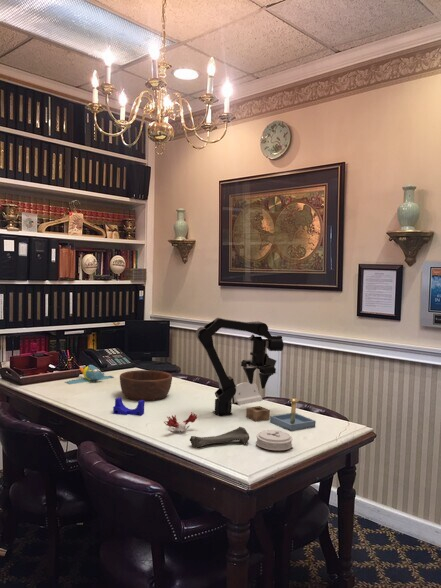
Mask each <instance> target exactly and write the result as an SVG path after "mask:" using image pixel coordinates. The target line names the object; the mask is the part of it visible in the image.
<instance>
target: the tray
mask: <svg viewBox="0 0 441 588" xmlns="http://www.w3.org/2000/svg"><path fill="white" fill-rule="evenodd" d="M290 420H291V412H288V413H282V414H274V415H270V418H269V423H271V424H274V425H276V426H277V427H278V426H279V428H282V429H285V430H286V431H289V432H294V431H295V432H296V431H300V430H306V429H312V428H316V423H317V422H316V420H315V419H311V418H310V417H307V416H305V415H302V414H299V413H297V412H296V413H295V424H292V423H290Z"/></svg>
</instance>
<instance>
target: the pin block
mask: <svg viewBox="0 0 441 588" xmlns="http://www.w3.org/2000/svg"><path fill="white" fill-rule="evenodd" d="M270 410H271V409H268V408H266V407H263V406H260V405H257V406H250V407H246V413H245V414H246V415H245V417H246V418H247V419H249V420H250V421H254V422H255V423H257V422H262V421H267V420H269V421H270V416H271V415H270V414H271V413H270V412H271V411H270Z"/></svg>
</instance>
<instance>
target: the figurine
mask: <svg viewBox="0 0 441 588" xmlns="http://www.w3.org/2000/svg"><path fill="white" fill-rule="evenodd" d="M166 418H167V420H168V421H166V420H164V421H163V424H165V425H166V426H168V430H169V432H173V433H174V432H176V431H178V432H179V433H181V432H182V433H184V431H185V432H188V429H189V428H190V424H189V423H194V422H195V421H196V420H197V419H198V416H197V414H195V413H193V412H192V411H190V415H189V416H188V418H187V419H185V420H182V421H178V420H177V415H176V414H174V415H171V416H166ZM177 421H178V422H177Z"/></svg>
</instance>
